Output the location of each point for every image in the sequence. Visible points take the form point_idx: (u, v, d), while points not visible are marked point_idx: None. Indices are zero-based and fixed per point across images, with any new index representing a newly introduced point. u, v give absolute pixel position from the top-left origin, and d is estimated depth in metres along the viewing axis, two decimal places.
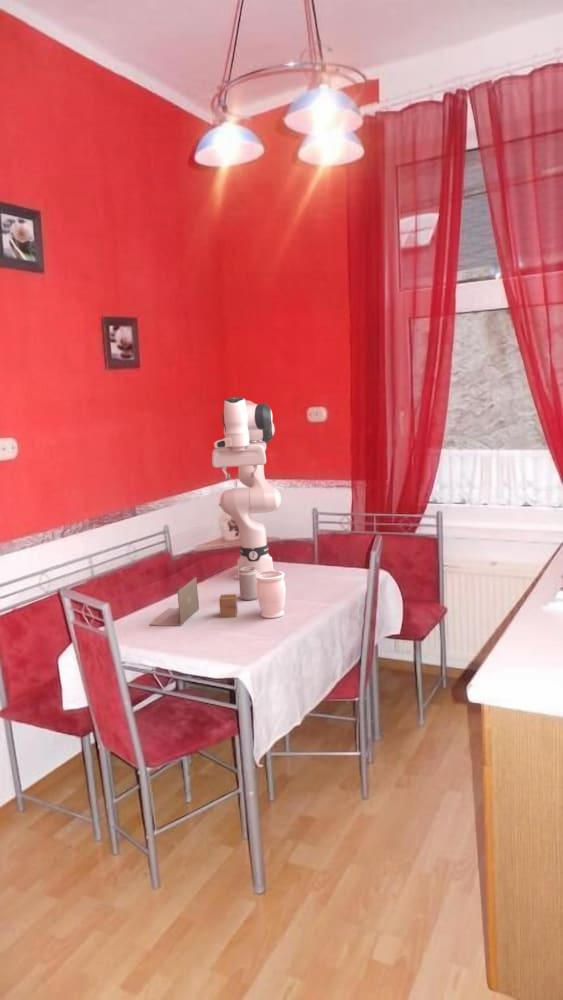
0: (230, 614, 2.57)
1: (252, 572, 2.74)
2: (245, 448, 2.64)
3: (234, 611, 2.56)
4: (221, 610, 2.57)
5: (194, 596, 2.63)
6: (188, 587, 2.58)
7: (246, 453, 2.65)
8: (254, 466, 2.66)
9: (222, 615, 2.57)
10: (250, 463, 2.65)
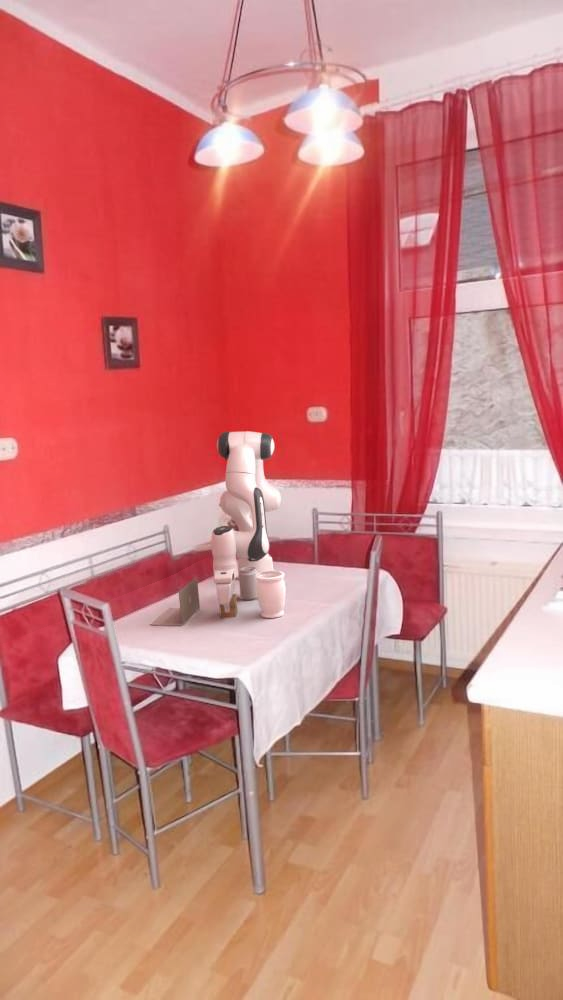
0: (230, 613, 2.57)
1: (252, 572, 2.74)
2: None
3: (234, 611, 2.56)
4: (221, 610, 2.57)
5: (195, 596, 2.63)
6: (189, 587, 2.58)
7: None
8: (232, 593, 2.63)
9: (222, 615, 2.57)
10: (233, 590, 2.62)
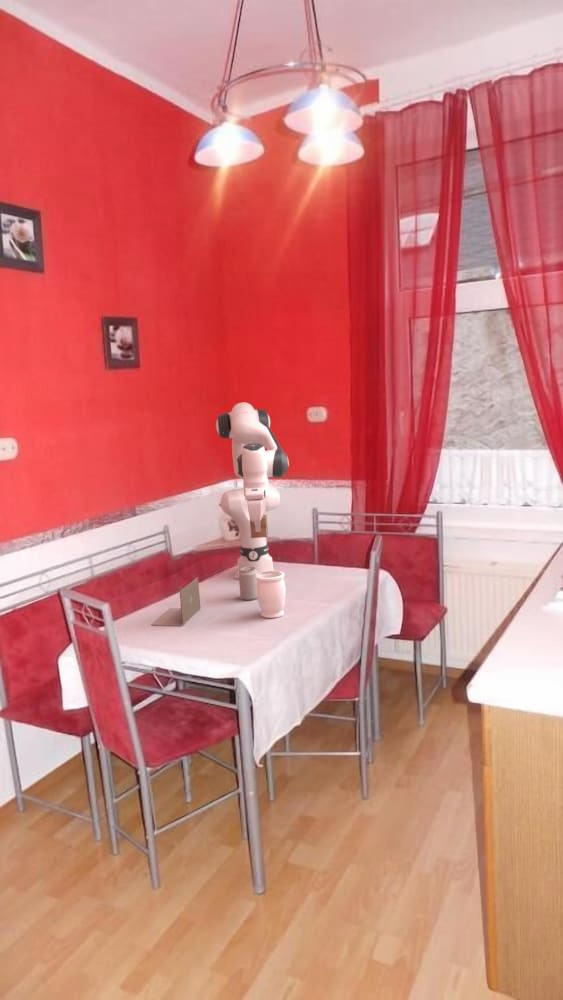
0: (260, 534, 2.49)
1: (252, 572, 2.74)
2: None
3: (265, 531, 2.49)
4: (251, 530, 2.49)
5: (196, 596, 2.63)
6: (190, 587, 2.58)
7: (262, 501, 2.53)
8: None
9: (252, 535, 2.50)
10: (264, 511, 2.55)
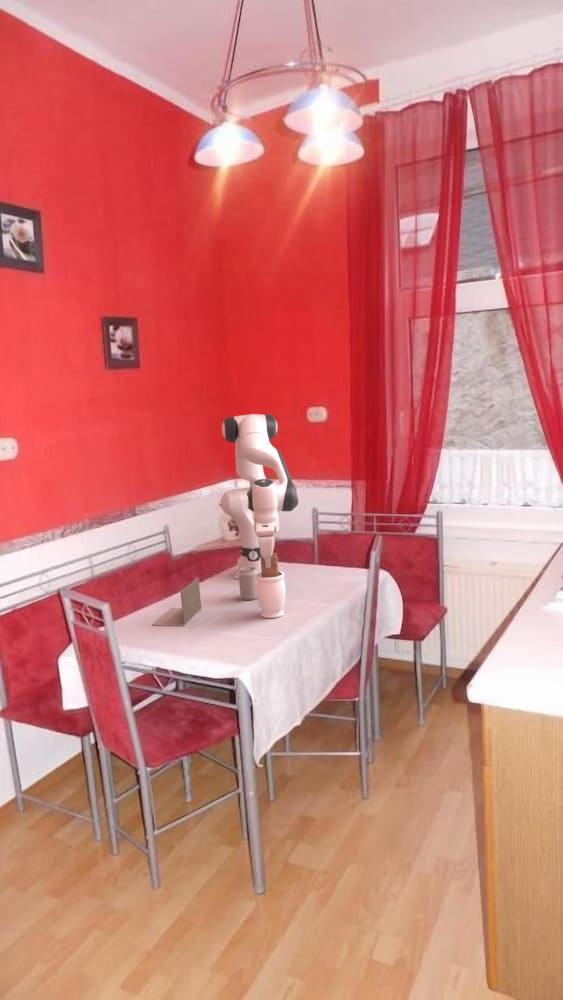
0: (271, 572, 2.51)
1: (252, 572, 2.74)
2: None
3: (275, 570, 2.51)
4: (262, 569, 2.51)
5: (196, 596, 2.63)
6: (191, 587, 2.58)
7: None
8: None
9: (263, 574, 2.52)
10: None
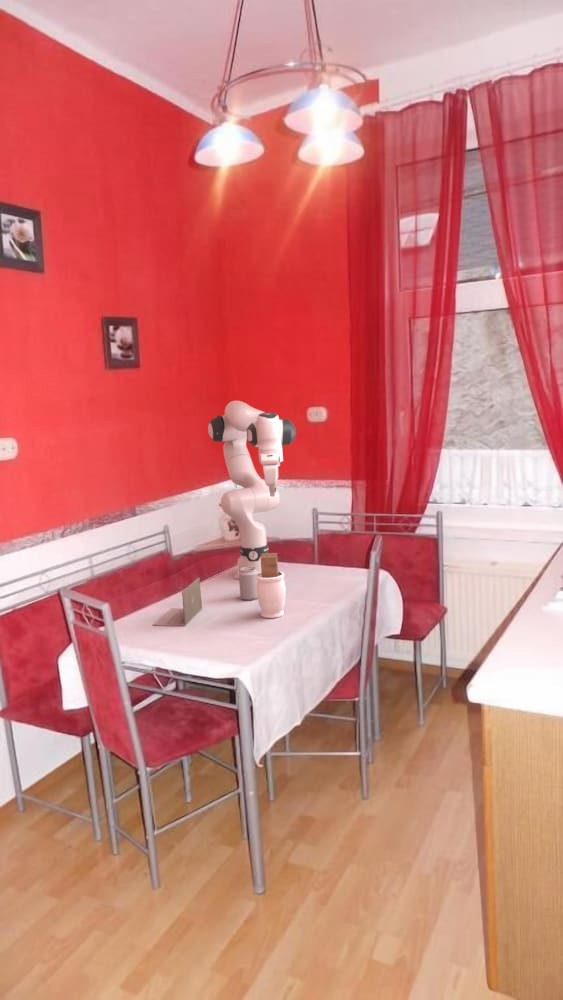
0: (271, 573, 2.51)
1: (252, 572, 2.74)
2: None
3: (276, 570, 2.51)
4: (262, 569, 2.51)
5: (197, 596, 2.63)
6: (192, 587, 2.57)
7: None
8: None
9: (263, 574, 2.52)
10: None
